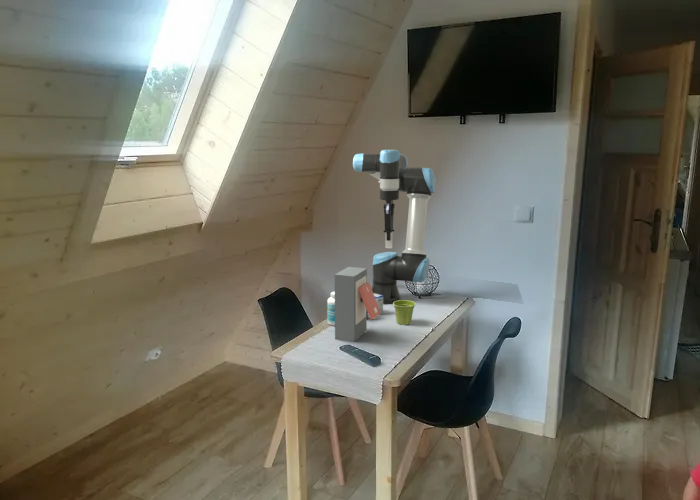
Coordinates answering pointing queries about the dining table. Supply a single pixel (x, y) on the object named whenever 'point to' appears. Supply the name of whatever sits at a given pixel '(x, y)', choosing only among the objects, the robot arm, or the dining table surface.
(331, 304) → the pill bottle
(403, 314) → the plant pot
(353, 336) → the switch panel
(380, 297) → the medicine box
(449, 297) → the dining table surface
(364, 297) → the salmon pink panel
